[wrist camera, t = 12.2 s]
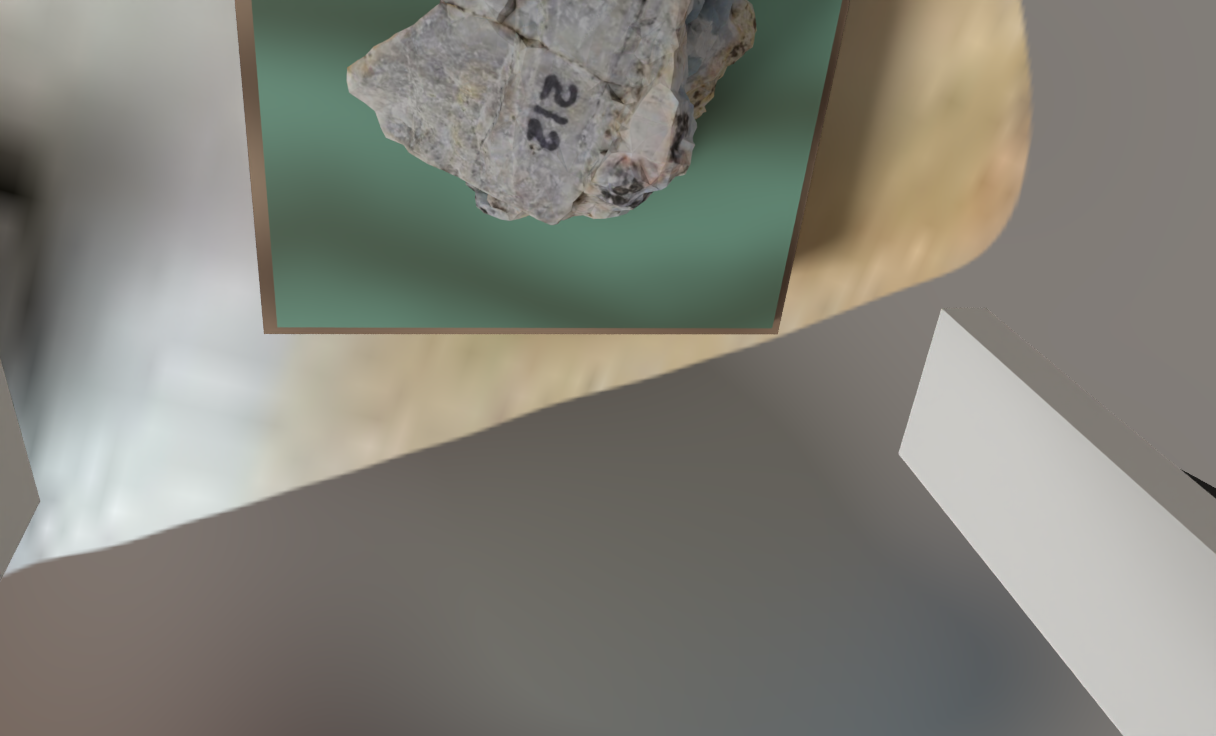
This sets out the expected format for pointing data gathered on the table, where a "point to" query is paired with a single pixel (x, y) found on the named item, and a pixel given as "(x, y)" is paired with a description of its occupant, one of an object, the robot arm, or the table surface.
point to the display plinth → (526, 248)
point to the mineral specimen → (554, 96)
